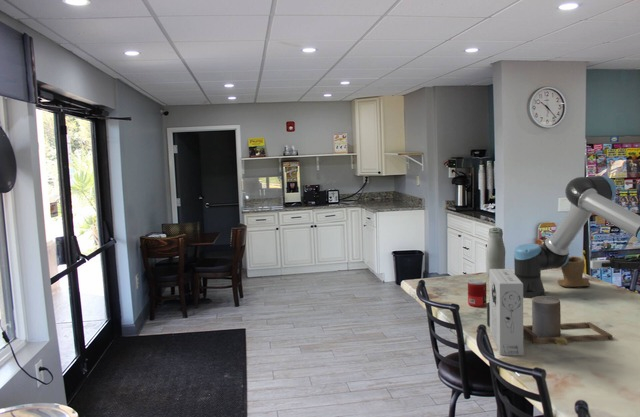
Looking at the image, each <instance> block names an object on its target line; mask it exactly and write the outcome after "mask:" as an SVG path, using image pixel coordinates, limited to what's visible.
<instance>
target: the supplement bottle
mask: <svg viewBox="0 0 640 417" xmlns="http://www.w3.org/2000/svg"><path fill="white" fill-rule="evenodd" d="M488 298H489V299H488V301H489V302H488V303H486V325H487V326H488V327H489V328H490V295H489V297H488Z"/></svg>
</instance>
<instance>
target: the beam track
mask: <svg viewBox="0 0 640 417" xmlns="http://www.w3.org/2000/svg"><path fill="white" fill-rule="evenodd" d="M581 328H582V329H583V328H589V329H591V330H593V331H594V332H596V333H597V334H586V335H583V334H582V335H567V336H566V335H565V336H563V335H562V336H561V337H544V338H539V337H537V335H536V334H534V333H533V332H532V324H530V325H529V324H527V325H524V324H523V338H525V339H526V340H528V341H529V342H530V343H531V344H533V345H535V344H536V345H538V344H551V343H552V344H556V345H557V346H565V345H567V344H568V343H571V342H574V341H575V342H588V341H589V342H590V341H608V340H609V341H610V340H613V335H612V334H611V333H609V332H608V331H606V330H604V329H603V328H601V327H599V326H597V325H595V324H593V323H592V322H590V321H587V322H585V321H584V322H569V323H566V322H565V323H561V330H562V329H563V330H565V329H581Z"/></svg>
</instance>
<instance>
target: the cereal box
mask: <svg viewBox="0 0 640 417" xmlns="http://www.w3.org/2000/svg"><path fill="white" fill-rule="evenodd" d="M488 279H489V280H488V281H489V284H488V285H489V287H488V288H489V296H490V301H489V302H490V327H489V334H490V336H491V338H492V341H493V343H494V345H495V346H496V350H497V351H498V353H499V355H500V356H520V357H523V356H524V336H523V325H524V297H523V283H522V282H521V281H520V280H519V279H518V277H517V276H516V275H515V272H514V271H513V270H512V269H510V268H505V269H490V270H489V277H488Z"/></svg>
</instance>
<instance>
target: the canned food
mask: <svg viewBox="0 0 640 417" xmlns="http://www.w3.org/2000/svg"><path fill="white" fill-rule="evenodd" d="M467 303H468V305H469V307H473V308H485V307H487V281H486V280H484V279H480V278H479V279H477V278H474V279H473V278H472V279H469V280H467Z"/></svg>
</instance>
